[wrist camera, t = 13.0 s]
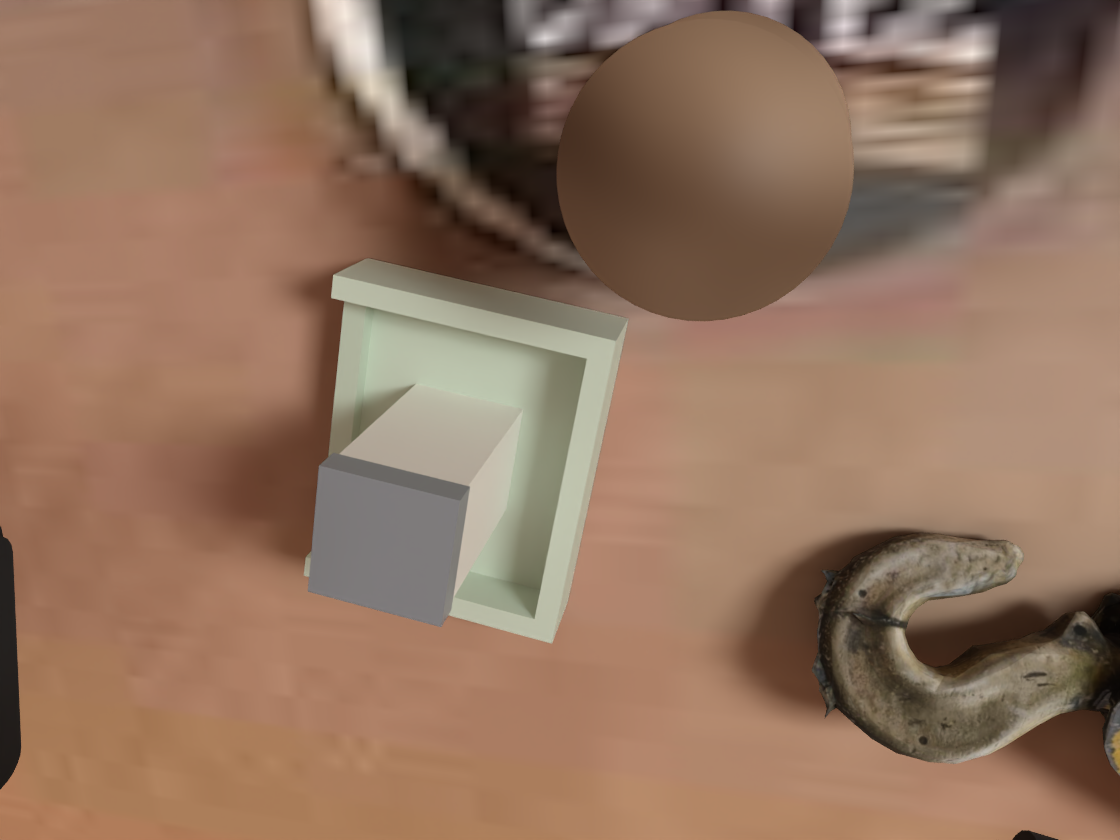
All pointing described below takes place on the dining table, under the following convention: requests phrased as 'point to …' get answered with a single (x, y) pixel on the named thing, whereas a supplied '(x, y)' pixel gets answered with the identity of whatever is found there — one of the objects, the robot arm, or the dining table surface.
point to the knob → (707, 166)
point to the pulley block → (974, 677)
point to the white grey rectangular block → (413, 503)
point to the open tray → (502, 377)
